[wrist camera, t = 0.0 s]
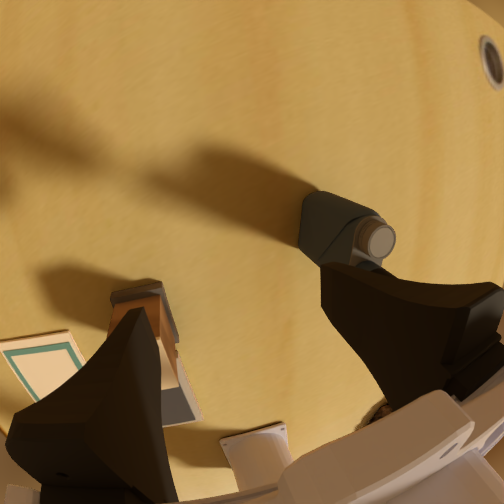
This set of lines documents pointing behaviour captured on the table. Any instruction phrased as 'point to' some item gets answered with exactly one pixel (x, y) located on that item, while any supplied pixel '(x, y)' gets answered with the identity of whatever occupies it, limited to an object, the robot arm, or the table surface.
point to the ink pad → (180, 401)
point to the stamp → (152, 324)
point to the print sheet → (43, 361)
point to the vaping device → (344, 233)
